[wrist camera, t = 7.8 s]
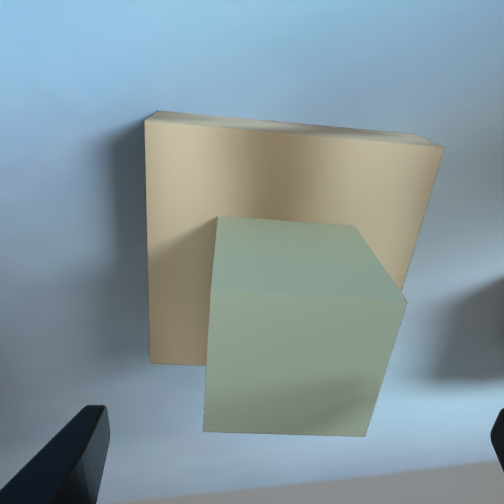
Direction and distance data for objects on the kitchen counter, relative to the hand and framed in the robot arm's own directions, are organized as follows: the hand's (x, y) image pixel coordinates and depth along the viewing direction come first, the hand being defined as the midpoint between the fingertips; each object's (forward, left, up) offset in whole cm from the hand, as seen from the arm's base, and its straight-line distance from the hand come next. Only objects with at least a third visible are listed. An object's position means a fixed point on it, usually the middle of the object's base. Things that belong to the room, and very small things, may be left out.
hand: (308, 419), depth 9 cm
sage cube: (0, 0, -7) cm, 7 cm away
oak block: (0, 0, -10) cm, 10 cm away
